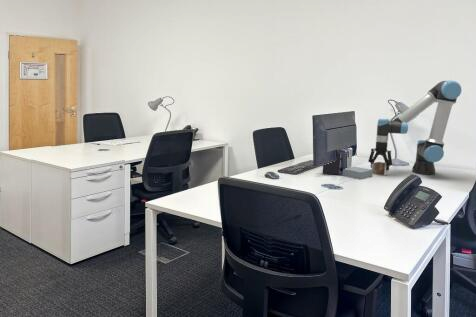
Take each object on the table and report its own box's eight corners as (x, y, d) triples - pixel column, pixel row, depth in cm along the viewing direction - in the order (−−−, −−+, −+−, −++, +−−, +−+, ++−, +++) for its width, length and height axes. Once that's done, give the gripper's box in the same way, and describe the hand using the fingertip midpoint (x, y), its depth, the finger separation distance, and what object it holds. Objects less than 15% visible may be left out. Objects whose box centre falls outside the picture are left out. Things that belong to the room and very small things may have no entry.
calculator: (338, 173, 284) (339, 152, 281) (339, 175, 280) (340, 153, 277) (322, 173, 285) (323, 151, 282) (323, 174, 281) (324, 152, 278)
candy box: (337, 167, 306) (338, 145, 303) (344, 167, 307) (346, 145, 304) (343, 171, 293) (344, 148, 290) (351, 171, 293) (352, 148, 290)
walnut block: (384, 174, 285) (385, 162, 283) (380, 175, 281) (381, 163, 280) (377, 173, 288) (378, 161, 287) (374, 174, 285) (374, 162, 284)
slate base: (372, 177, 277) (372, 169, 276) (360, 180, 268) (361, 172, 267) (354, 173, 287) (354, 166, 286) (342, 176, 278) (342, 168, 277)
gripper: (364, 140, 286) (362, 171, 290) (394, 143, 270) (391, 177, 274) (370, 139, 291) (367, 170, 295) (399, 143, 275) (396, 175, 279)
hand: (379, 173), depth 285 cm, fingers open, 9 cm apart
